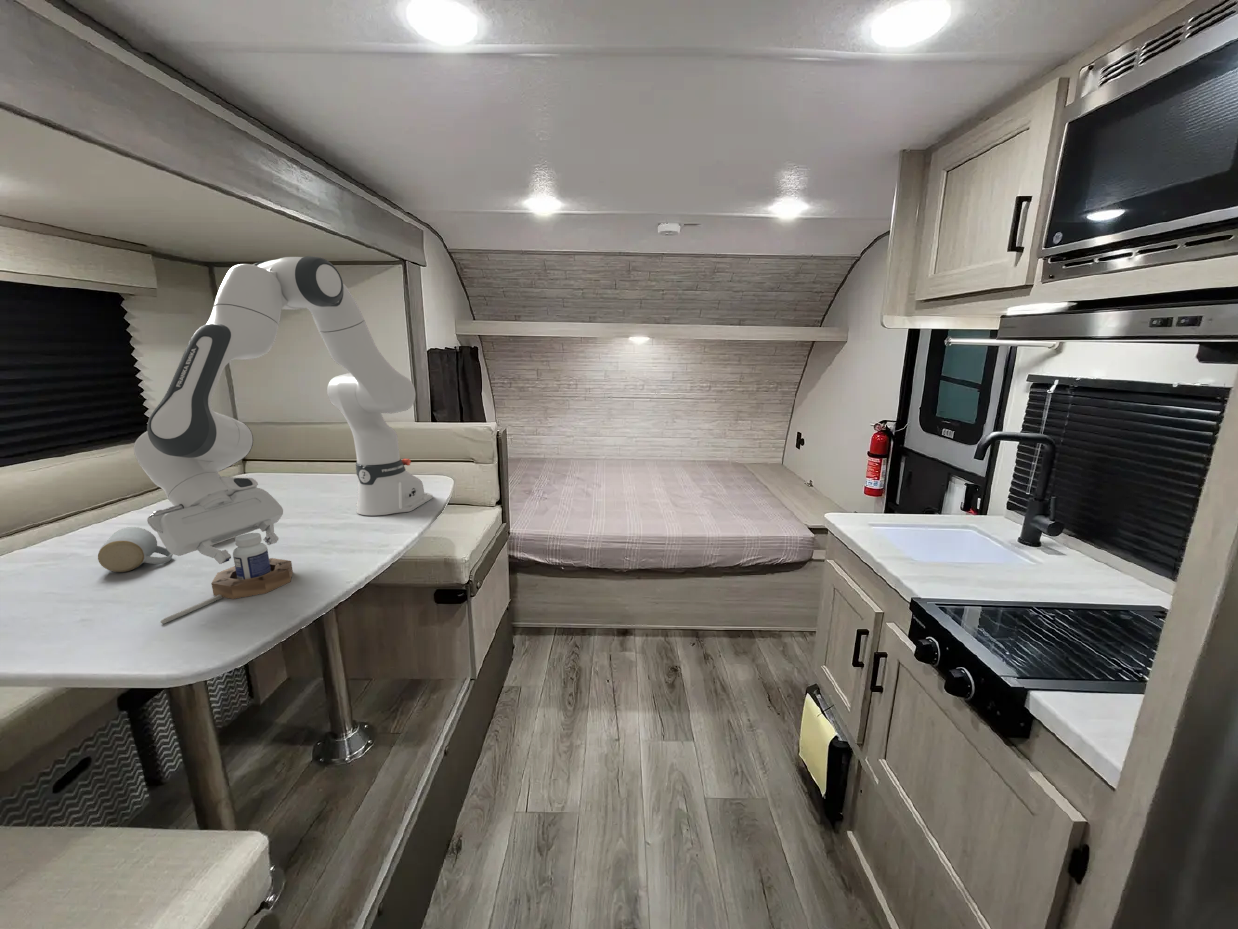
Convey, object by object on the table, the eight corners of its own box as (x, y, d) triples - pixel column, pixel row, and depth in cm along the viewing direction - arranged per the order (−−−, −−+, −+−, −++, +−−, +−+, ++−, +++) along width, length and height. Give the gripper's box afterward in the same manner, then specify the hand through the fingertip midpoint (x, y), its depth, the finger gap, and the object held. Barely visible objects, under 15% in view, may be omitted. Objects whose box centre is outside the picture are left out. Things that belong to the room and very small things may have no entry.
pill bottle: (276, 575, 100) (269, 530, 98) (266, 587, 95) (258, 539, 93) (245, 579, 98) (237, 532, 96) (233, 591, 93) (224, 542, 91)
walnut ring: (261, 567, 104) (259, 556, 103) (306, 574, 100) (304, 562, 100) (199, 593, 92) (197, 580, 92) (247, 601, 89) (245, 589, 88)
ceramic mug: (98, 577, 99) (90, 541, 97) (113, 563, 106) (106, 529, 104) (168, 567, 104) (161, 533, 102) (178, 554, 111) (172, 521, 109)
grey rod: (219, 598, 90) (218, 594, 90) (222, 598, 90) (221, 594, 90) (159, 624, 82) (159, 620, 81) (163, 625, 81) (162, 620, 81)
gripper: (147, 503, 85) (199, 563, 84) (261, 476, 104) (304, 524, 103) (135, 525, 87) (185, 583, 86) (249, 494, 106) (291, 542, 105)
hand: (251, 551), depth 95 cm, fingers open, 8 cm apart
